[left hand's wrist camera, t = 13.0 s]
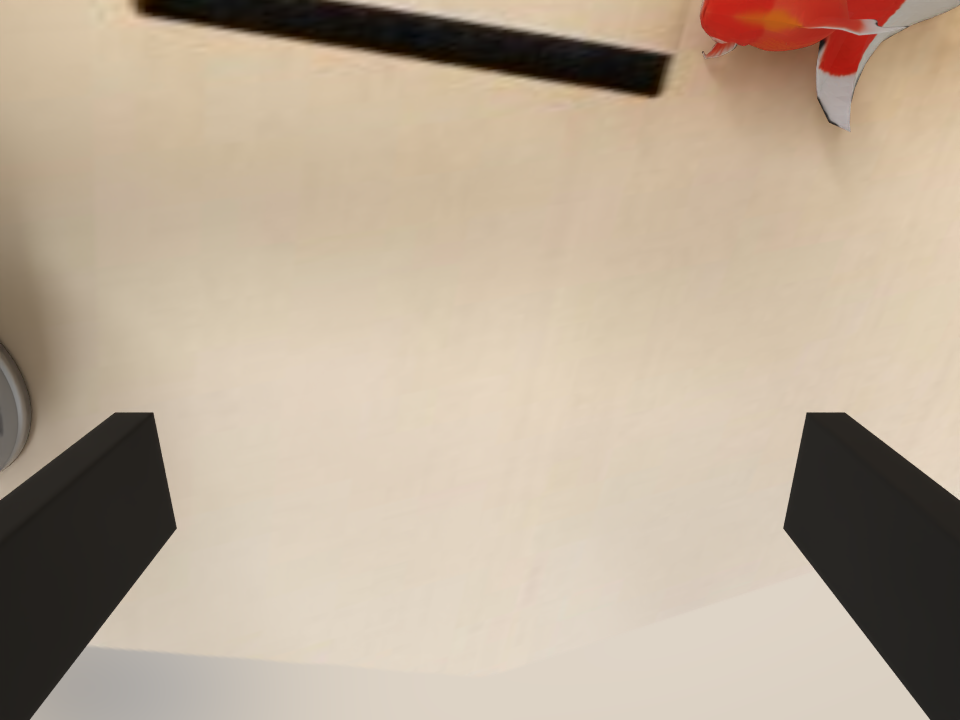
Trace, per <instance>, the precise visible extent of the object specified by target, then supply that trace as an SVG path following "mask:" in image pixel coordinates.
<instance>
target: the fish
mask: <svg viewBox="0 0 960 720" xmlns="http://www.w3.org/2000/svg"><path fill="white" fill-rule="evenodd" d="M959 5H960V0H704V1H703V3H702V5H701V12H700V20H701V25H702V28H703V29H704V30H705V32H706V33H707V34H708V35H709V36H710V37H711V38H712V39H713V40H714V41H716V42H717V43H716V44H715V45H714V47H713V48H712V50H711V51H710V52H709V53H708V54H707V55H705V53H704V51H703V52H702V53H703V56H704V59H708V58H714V57H719V56H721V55H724V54H726V53H728V52H730V51H732V50H733V49H735V47H736V46H737V44H738V45H742V46H746V45H748V44H749V45H752V46H754V47H757V48H760V49H762V50H767V51H787V50H794V49H799V48H803V47H807V46H810V45H813V44H815V43H817V42H819V41H820V46H819V53H818V60H817V67H816V87H817V99H818V101H819V103H820V105H821V107H822V109H823V111H824V113H825V115H826V117H827V119H828V121H829V123H832V124H834V125H836V126H838V127H841V128H843V129H845V130H847V131H850V107H851V101H852V97H853V93H854V89H855V86H856V84H857V82H858V79H859V77H860V75H861V73H862V70H863V68H864V66H865V64H866V62H867V61H868V59H869V58H870V56H871V55H872V53H873V52H874V51H875V49H876V48H877V47H878V45H879V44H880V43H881V42H882V41H884V40H885V39H887V38H889V37H891V36H892V35H894V34H896V33H898V32H900V31H902V30H903V29H905V28H907V27H909V26H911V25H913V24H916V23H919V22H921V21H924V20H927V19H930V18H932V17H935V16H937V15H940V14H942V13H945V12H947V11H949V10H951V9H953V8H955V7H957V6H959Z"/></svg>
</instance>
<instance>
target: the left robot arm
mask: <svg viewBox="0 0 960 720" xmlns="http://www.w3.org/2000/svg"><path fill="white" fill-rule="evenodd" d="M30 424H31V406H30V399H29V395H28V391H27V388H26V385H25V382H24V380H23V377H22V375H21V373H20V371H19V369H18V367H17V365H16V364H15V362H14V361H13V359H12V358H11V356H10V355H9V353H8V352H7V351H6V349H5V348H4V347H3V346H2V344H1V343H0V472H1V471H2V470H4V469H5V468H6V467H7V466H9V465H10V464H11V463H12V462H13V461H14V460H15V459H16V458H17V456H18V455H19V454H20V452H21V451H22V449H23V447H24V445H25V443H26V441H27V438H28V435H29V431H30ZM176 529H177V527H176V522H175V517H174V513H173V508H172V503H171V498H170V493H169V488H168V483H167V478H166V473H165V468H164V463H163V458H162V453H161V448H160V443H159V438H158V433H157V428H156V424H155V419H154V414H153V413H114V414H113V415H111V416H110V417H109V418H107V419H106V420H105V421H103V422H102V423H101V424H100V425H98V426H97V427H96V428H94V429H93V430H92V431H90V432H89V433H88V434H86V435H85V436H84V437H83V438H81V439H80V440H79V441H77V442H76V443H75V444H73V445H72V446H71V447H69V448H68V449H67V450H66V451H64V452H63V453H62V454H60V455H59V456H58V457H56V458H55V459H54V460H52V461H51V462H50V463H49V464H47V465H46V466H45V467H43V468H42V469H41V470H39V471H38V472H37V473H35V474H34V475H33V476H32V477H30V478H29V479H28V480H26V481H25V482H24V483H22V484H21V485H20V486H18V487H17V488H16V489H15V490H13V491H12V492H11V493H9V494H8V495H7V496H5V497H4V498H3V499H1V500H0V720H30V719H31V717H32V716H33V715H34V713H35V712H36V711H37V710H38V708H39V707H40V706H41V704H42V703H43V702H44V700H45V699H46V698H47V697H48V695H49V694H50V693H51V691H52V690H53V689H54V687H55V686H56V685H57V684H58V682H59V681H60V680H61V678H62V677H63V676H64V674H65V673H66V672H67V671H68V669H69V668H70V667H71V665H72V664H73V663H74V661H75V660H76V659H77V657H78V656H79V655H80V654H81V652H82V651H83V650H84V648H85V647H86V646H87V644H88V643H89V642H90V641H91V639H92V638H93V637H94V635H95V634H96V633H97V631H98V630H99V629H100V628H101V626H102V625H103V624H104V622H105V621H106V620H107V618H108V617H109V616H110V615H111V613H112V612H113V611H114V609H115V608H116V607H117V605H118V604H119V603H120V602H121V600H122V599H123V598H124V596H125V595H126V594H127V592H128V591H129V590H130V588H131V587H132V586H133V585H134V583H135V582H136V581H137V579H138V578H139V577H140V575H141V574H142V573H143V572H144V570H145V569H146V568H147V566H148V565H149V564H150V562H151V561H152V560H153V559H154V557H155V556H156V555H157V553H158V552H159V551H160V549H161V548H162V547H163V546H164V544H165V543H166V542H167V540H168V539H169V538H170V536H171V535H172V534H173V533H174V531H175V530H176ZM783 529H784V530H785V531H786V533H787V534H788V535H789V536H790V538H791V539H792V540H793V542H794V543H795V544H796V546H797V547H798V548H799V549H800V551H801V552H802V553H803V555H804V556H805V557H806V559H807V560H808V561H809V562H810V564H811V565H812V566H813V568H814V569H815V570H816V572H817V573H818V574H819V575H820V577H821V578H822V579H823V581H824V582H825V583H826V585H827V586H828V587H829V588H830V590H831V591H832V592H833V594H834V595H835V596H836V598H837V599H838V600H839V602H840V603H841V604H842V605H843V607H844V608H845V609H846V611H847V612H848V613H849V615H850V616H851V617H852V618H853V620H854V621H855V622H856V624H857V625H858V626H859V628H860V629H861V630H862V631H863V633H864V634H865V635H866V637H867V638H868V639H869V640H870V642H871V643H872V644H873V646H874V647H875V648H876V650H877V651H878V652H879V654H880V655H881V656H882V657H883V659H884V660H885V661H886V663H887V664H888V665H889V667H890V668H891V669H892V670H893V672H894V673H895V674H896V676H897V677H898V678H899V680H900V681H901V682H902V684H903V685H904V686H905V687H906V689H907V690H908V691H909V693H910V694H911V695H912V697H913V698H914V699H915V700H916V702H917V703H918V704H919V706H920V707H921V708H922V710H923V711H924V712H925V713H926V715H927V716H928V717H929V719H930V720H960V500H959V499H957V498H956V497H955V496H953V495H952V494H951V493H949V492H948V491H947V490H945V489H944V488H943V487H942V486H940V485H939V484H938V483H936V482H935V481H934V480H932V479H931V478H930V477H928V476H927V475H926V474H925V473H923V472H922V471H921V470H919V469H918V468H917V467H915V466H914V465H913V464H911V463H910V462H909V461H908V460H906V459H905V458H904V457H902V456H901V455H900V454H898V453H897V452H896V451H894V450H893V449H892V448H891V447H889V446H888V445H887V444H885V443H884V442H883V441H881V440H880V439H879V438H877V437H876V436H875V435H874V434H872V433H871V432H870V431H868V430H867V429H866V428H864V427H863V426H862V425H860V424H859V423H858V422H857V421H855V420H854V419H853V418H851V417H850V416H849V415H847V414H846V413H807V414H806V419H805V424H804V428H803V433H802V438H801V443H800V448H799V453H798V458H797V463H796V468H795V473H794V478H793V483H792V488H791V493H790V498H789V503H788V508H787V513H786V517H785V522H784V527H783Z"/></svg>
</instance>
